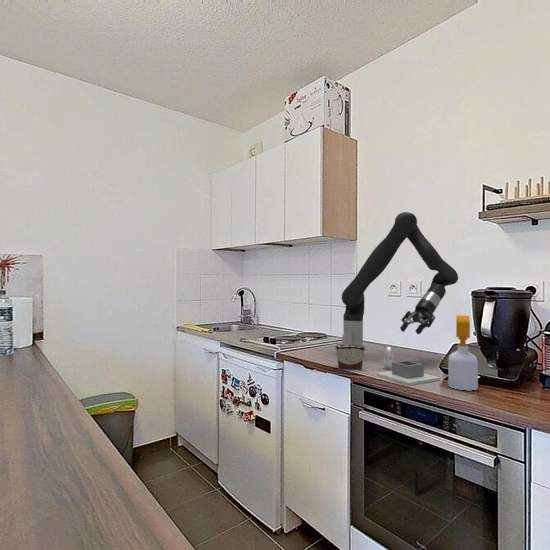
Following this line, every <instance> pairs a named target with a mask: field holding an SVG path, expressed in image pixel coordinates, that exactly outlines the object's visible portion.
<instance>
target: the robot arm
mask: <svg viewBox="0 0 550 550" xmlns="http://www.w3.org/2000/svg"><path fill="white" fill-rule="evenodd" d="M406 239H407V240H409V242H410V243H411V244H412V246H413V248H414V249H415V250H416V252H417V254H418V255H419V256H420V258H421V259H422V260H423V263H425V266H427V268H428V269H429V270H431V271H434V272H435V271H436V272H437V273H435V275H433V278H432V280H431V284H430V286H429V287H428V289H427V291H425V293H423V295H422V296H421V298H420V299H419V301H418V303H417V304H416V305H415V308H414V311H413V312H411V311H410V310H407V312H406V313H405V314H404V316H403V317H402V318H401V319H400V320H401V322H402V324H401V326H400V331H401V332H403V333H404V332H406V330H407V328H408V326H410V325H411V324H412V325H413V324H415V323H418V326H417V327H416V330H415V333H416V334H417V335H420V334H421V333H422V332H423V331H424V329H426V328H430V327H431V326H432V324H433V322H434V321H435V319H436V316H435V315H434V312H435V311H436V309H437V308H438V307H439V305H440V303H441V301H442V300H443V298H444V297H445V294H446V293H447V291H446V288H445V287H447V286H451V285H455V284H456V283H458V280H459V275H458V274H459V273H457V271H456V269H455V268H453V267H452V266H451V265H450V264H449V263H447V261H445V260H444V259H443V257H442V256H441V255H440V254H439V252H438V251H437V250H436V249H435V247H434V246H433V245H432V244H431V242H430V241H429V240H428V239H427V238H426V237H425V236H424V234H423V233H422V231H421V230H420V228H419V225H418V218H417V216H416V215H415V214H414V213H412V212H408V211H404V212H403V211H402V212H401V213H398V214H397V215H396V217H395V219H394V223H393V225H392V227H391V229H390V230H389V232H388V233H387V235H386V237H385V238H384V239H382V241H380V243H378V245H377V246H376V247H375V248H374V249H373V250H372V252H371V253H370V254H369V256H368V257H367V259H366V261H365V262H364V263H363V264H362V266H361V267H360V269H359V271H358V273H357V275H356V276H355V277H354V278H353V280H351V282H350V283H349V284H348V285H347V286H346V287H345V289H344V290H343V291H342V294H341V301H342V303H343V304H344V305H345V311H344V312H343V323H342V324H343V330H342V331H343V333H342V337H341V339H342V340H341V341H342V343H341V344H343V343H352V344H360V345H364V321H363V320H364V314H365V291H366V290H367V289H368V287H369V285H371V284H372V282H374V281H375V280H376V279H377V278H378V277H379V276H380V275H381V274H382V273H383V272H384V271H385V269H386V268H387V266H388V265H389V264H390V262H391V261H392V260H393V258H394V256H395V255H396V253H397V251H398V250H399V248H400V246H401V245H402V244H403V242H405V240H406Z"/></svg>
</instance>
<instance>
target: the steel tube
mask: <svg viewBox="0 0 550 550" xmlns="http://www.w3.org/2000/svg"><path fill="white" fill-rule="evenodd" d="M392 362H395V347H394V346H388V345H387V346H384V347H383V370H386V371H392Z"/></svg>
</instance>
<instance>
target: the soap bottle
mask: <svg viewBox="0 0 550 550" xmlns="http://www.w3.org/2000/svg"><path fill="white" fill-rule="evenodd" d="M455 317H456V320H455V322H456V325H455V326H456V328H455V329H456V331H455V332H456V333H455V334H456V335H455V337H456V338H458V340H459V343H457V349H456V351H453V352H452V353H450V354H449V355H448V369H447V370H448V379H447V381H448V387H450V388H451V389H453V388H454V390H457V389H458V391H462V390H466V391H465V392H473V391H472V390H474V391H477V390H478V389H479V388H478V387H479V384H478V383H479V380H478V379H479V373H478V372H479V370H478V369H479V367H478V366H479V363H478V362H479V360H478V358H477V356H476V355H474V353H471V352H470V351H469V344H468V343H467V342H466V341H468V339H469V338H470V337H471V336H470V334H471V329H470V328H471V326H470V325H471V324H470V323H471V320H470V315H463V314H461V315H460V314H459V315H456V316H455Z"/></svg>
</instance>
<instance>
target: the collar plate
mask: <svg viewBox="0 0 550 550" xmlns="http://www.w3.org/2000/svg"><path fill="white" fill-rule="evenodd" d="M424 372H425V364H424V363H420V362H417V361H412V360H398V361H394V362H392V370H386V371H381V372H376V376H377V377H380V378H383V379H387V380H389V381H393V382H395V383H399V384H403V385H405V386H414V385H420V384H428V383H432V382H433V381H434V382H438V381H439V380H440V381H441V377H439V376H435V375H432V374H428V373H424ZM434 382H433V383H434Z"/></svg>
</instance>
